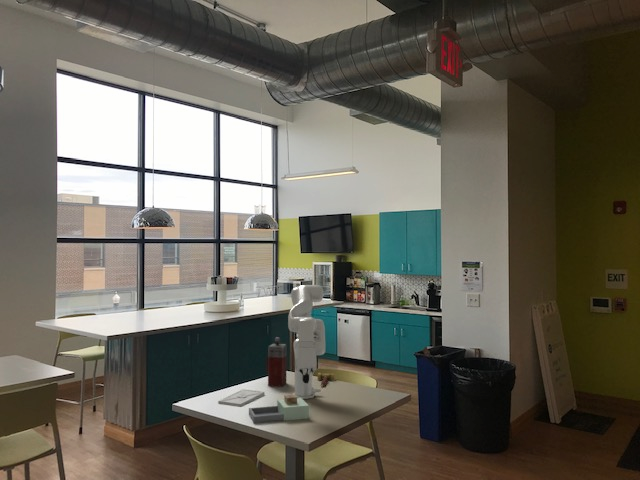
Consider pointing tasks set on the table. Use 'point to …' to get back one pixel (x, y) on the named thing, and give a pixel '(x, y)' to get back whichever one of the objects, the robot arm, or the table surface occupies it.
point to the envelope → (241, 397)
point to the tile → (290, 399)
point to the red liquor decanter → (276, 363)
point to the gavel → (325, 378)
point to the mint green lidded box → (293, 409)
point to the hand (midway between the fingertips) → (305, 382)
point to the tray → (265, 414)
